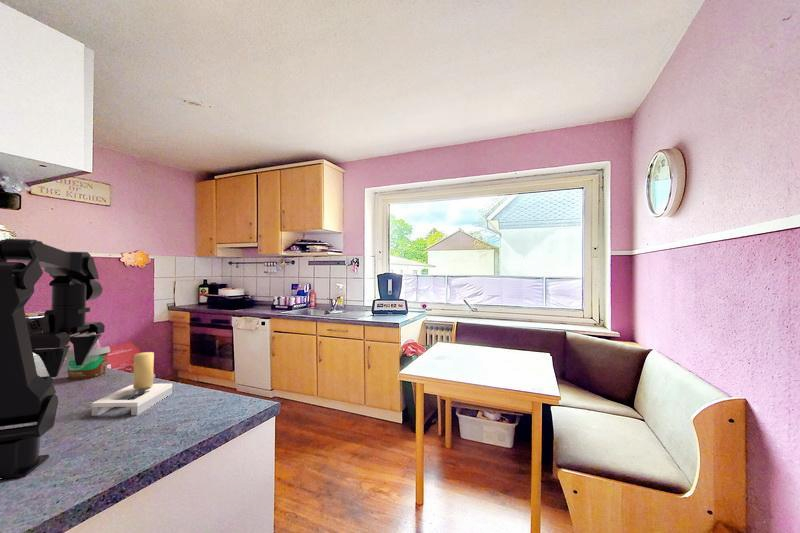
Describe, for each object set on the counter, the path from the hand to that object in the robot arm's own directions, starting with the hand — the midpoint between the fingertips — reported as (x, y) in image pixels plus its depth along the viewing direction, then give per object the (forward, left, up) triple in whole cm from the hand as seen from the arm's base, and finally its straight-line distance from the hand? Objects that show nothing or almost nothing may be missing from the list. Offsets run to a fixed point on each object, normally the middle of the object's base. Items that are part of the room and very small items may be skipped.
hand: (67, 370), depth 76 cm
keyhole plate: (+10, -10, -13) cm, 19 cm away
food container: (+40, +16, -13) cm, 45 cm away
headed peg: (+13, -10, -13) cm, 21 cm away
